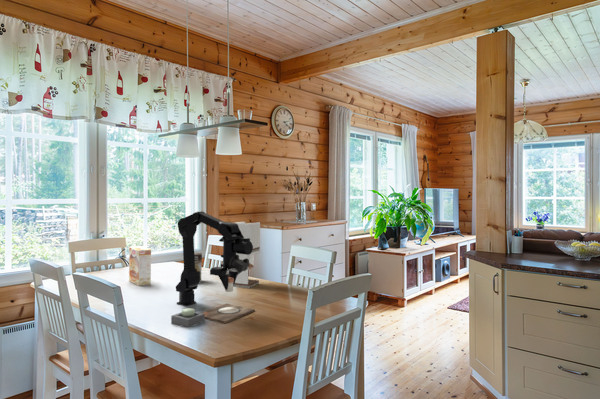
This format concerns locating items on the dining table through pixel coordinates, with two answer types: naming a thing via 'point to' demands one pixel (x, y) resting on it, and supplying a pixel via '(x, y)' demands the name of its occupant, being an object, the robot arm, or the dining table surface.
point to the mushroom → (230, 285)
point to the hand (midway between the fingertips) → (229, 288)
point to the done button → (188, 312)
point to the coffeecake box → (140, 265)
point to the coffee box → (198, 262)
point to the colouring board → (226, 313)
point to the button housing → (187, 319)
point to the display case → (254, 234)
